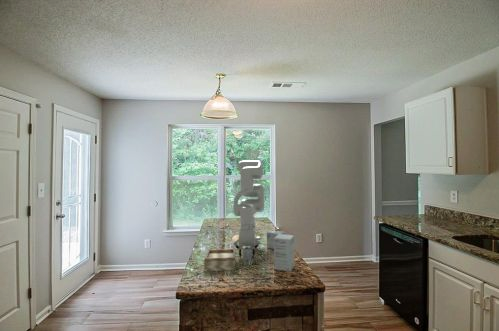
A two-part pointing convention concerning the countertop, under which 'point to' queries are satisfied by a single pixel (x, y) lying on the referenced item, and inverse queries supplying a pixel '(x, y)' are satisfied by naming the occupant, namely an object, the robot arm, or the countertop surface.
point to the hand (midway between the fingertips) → (247, 255)
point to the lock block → (246, 252)
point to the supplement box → (284, 252)
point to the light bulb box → (272, 238)
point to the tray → (220, 260)
